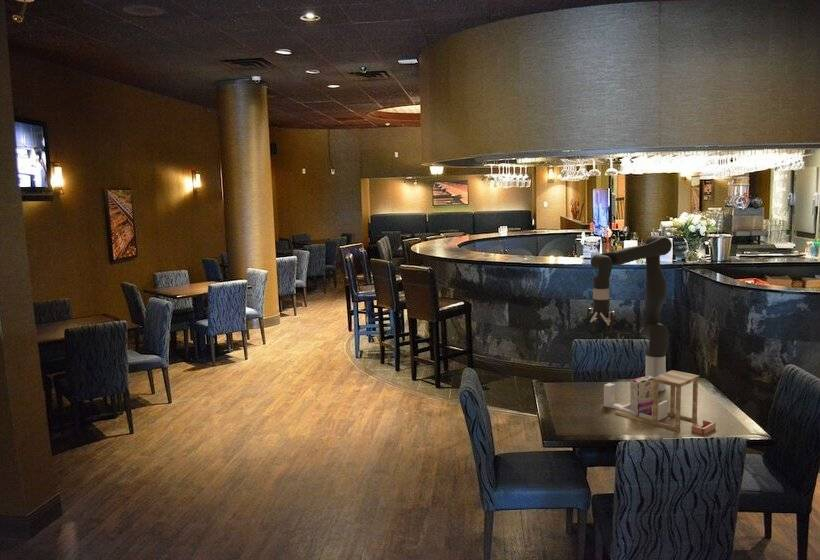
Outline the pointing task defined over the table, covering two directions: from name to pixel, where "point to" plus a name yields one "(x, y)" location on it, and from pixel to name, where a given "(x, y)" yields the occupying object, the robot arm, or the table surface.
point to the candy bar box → (641, 395)
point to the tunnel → (671, 398)
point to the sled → (610, 402)
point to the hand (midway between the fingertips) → (601, 331)
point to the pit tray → (704, 428)
